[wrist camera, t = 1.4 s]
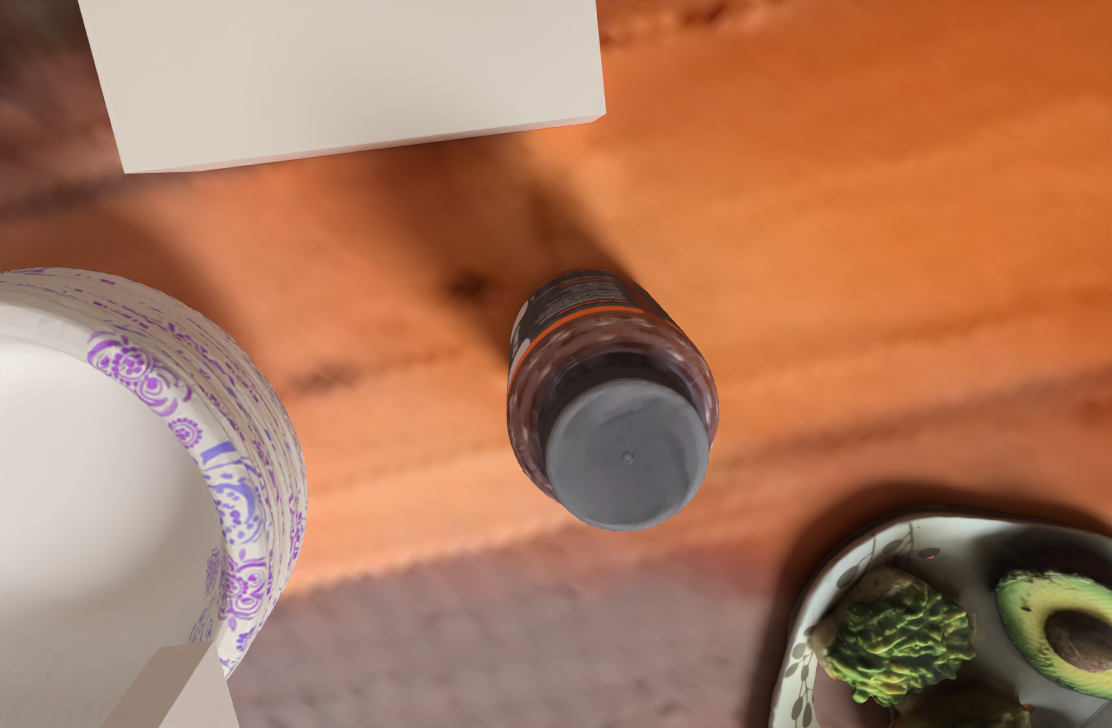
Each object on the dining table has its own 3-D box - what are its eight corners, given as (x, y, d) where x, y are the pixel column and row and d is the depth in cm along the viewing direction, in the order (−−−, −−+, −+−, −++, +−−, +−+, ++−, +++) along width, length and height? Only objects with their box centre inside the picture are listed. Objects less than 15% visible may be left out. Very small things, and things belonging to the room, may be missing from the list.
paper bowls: (-156, 354, 27) (-421, 429, 20) (207, 186, 26) (76, 196, 19) (76, 670, 31) (-70, 836, 24) (399, 536, 30) (357, 663, 23)
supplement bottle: (477, 336, 28) (446, 447, 17) (596, 231, 27) (644, 279, 16) (579, 445, 29) (610, 612, 19) (695, 349, 29) (800, 464, 18)
